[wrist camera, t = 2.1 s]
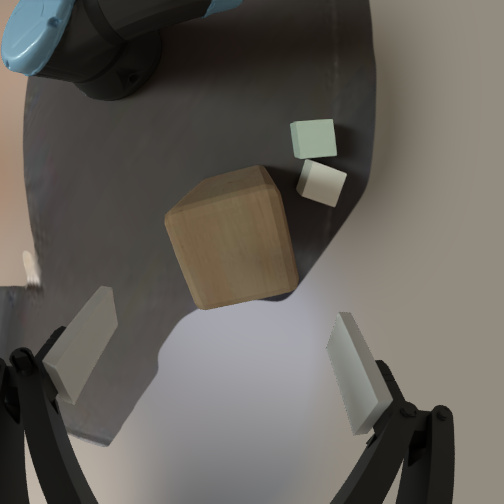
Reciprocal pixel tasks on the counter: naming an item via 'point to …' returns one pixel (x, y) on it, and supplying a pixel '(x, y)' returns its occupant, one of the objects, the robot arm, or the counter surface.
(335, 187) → the cube cream
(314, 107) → the counter surface
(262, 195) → the wooden block
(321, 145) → the cube sage
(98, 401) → the counter surface
